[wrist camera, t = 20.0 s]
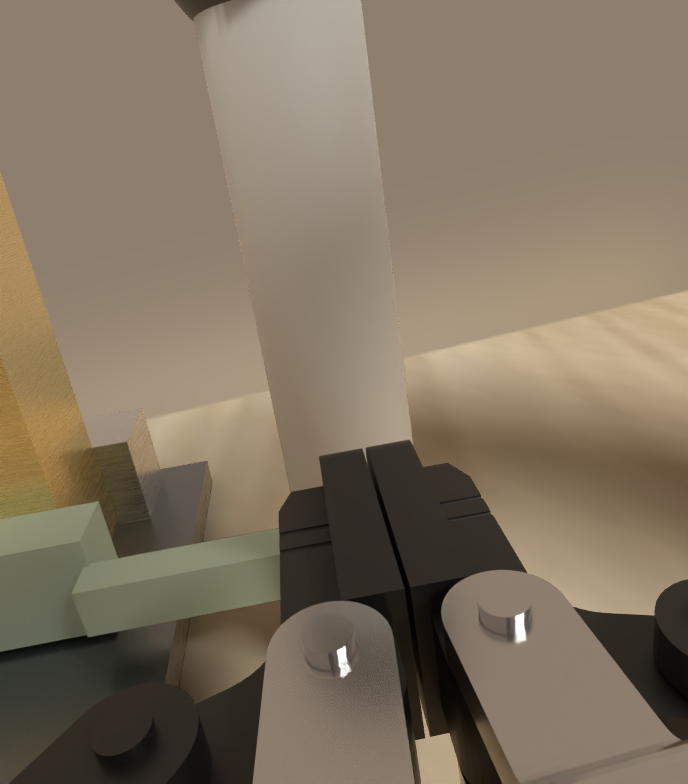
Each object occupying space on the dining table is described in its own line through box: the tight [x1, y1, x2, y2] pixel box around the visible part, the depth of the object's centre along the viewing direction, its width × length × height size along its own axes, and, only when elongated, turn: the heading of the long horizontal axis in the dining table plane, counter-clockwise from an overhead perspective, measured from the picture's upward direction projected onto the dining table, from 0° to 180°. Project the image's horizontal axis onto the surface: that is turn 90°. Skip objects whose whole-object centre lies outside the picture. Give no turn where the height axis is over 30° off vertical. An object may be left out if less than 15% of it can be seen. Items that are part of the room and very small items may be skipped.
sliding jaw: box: [0, 0, 413, 652], centre depth 14 cm, size 6×17×17 cm, turn 96°
